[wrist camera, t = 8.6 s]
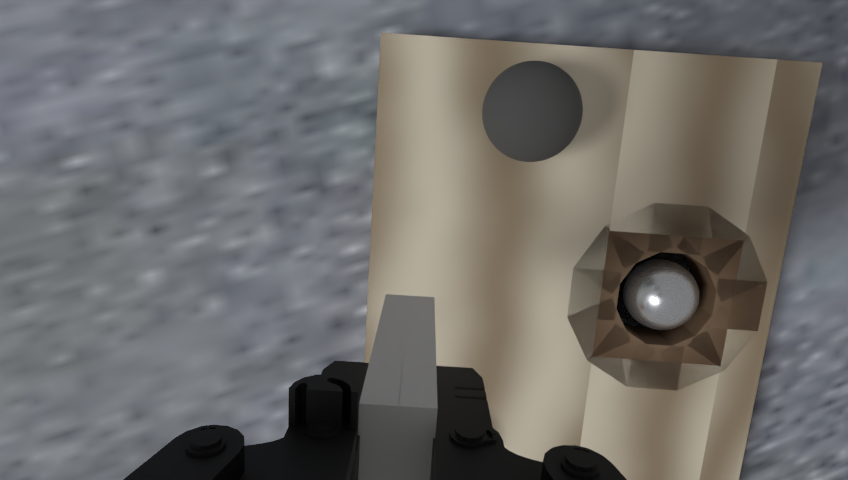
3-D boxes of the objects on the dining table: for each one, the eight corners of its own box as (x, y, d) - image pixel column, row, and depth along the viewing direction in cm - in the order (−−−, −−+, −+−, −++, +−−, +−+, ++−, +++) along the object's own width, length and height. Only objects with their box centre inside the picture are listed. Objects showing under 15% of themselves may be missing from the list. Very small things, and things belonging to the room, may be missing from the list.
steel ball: (622, 248, 28) (627, 270, 25) (696, 252, 27) (709, 274, 24) (618, 310, 29) (622, 338, 26) (689, 316, 28) (701, 345, 25)
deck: (364, 457, 30) (358, 485, 28) (386, 42, 26) (381, 32, 24) (707, 483, 30) (731, 514, 28) (786, 69, 26) (822, 62, 23)
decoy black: (482, 63, 24) (491, 50, 20) (574, 70, 24) (601, 57, 20) (474, 156, 25) (481, 160, 21) (563, 162, 24) (588, 168, 21)
